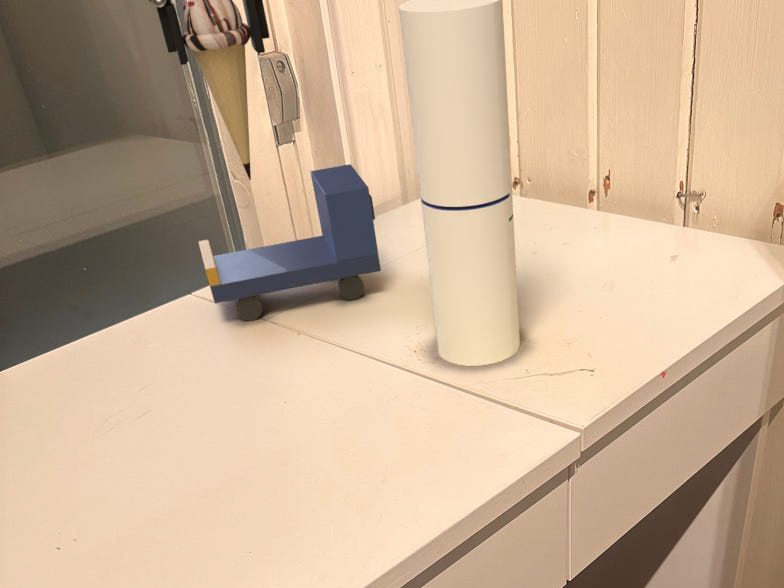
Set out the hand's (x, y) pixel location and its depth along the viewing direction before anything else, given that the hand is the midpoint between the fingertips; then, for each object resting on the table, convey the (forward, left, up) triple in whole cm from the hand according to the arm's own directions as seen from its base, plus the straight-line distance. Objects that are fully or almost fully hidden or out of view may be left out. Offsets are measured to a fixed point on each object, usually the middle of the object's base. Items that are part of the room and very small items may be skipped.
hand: (221, 53), depth 76 cm
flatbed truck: (+2, 0, -21) cm, 21 cm away
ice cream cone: (0, 0, -10) cm, 10 cm away
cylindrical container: (+15, -19, -21) cm, 32 cm away
